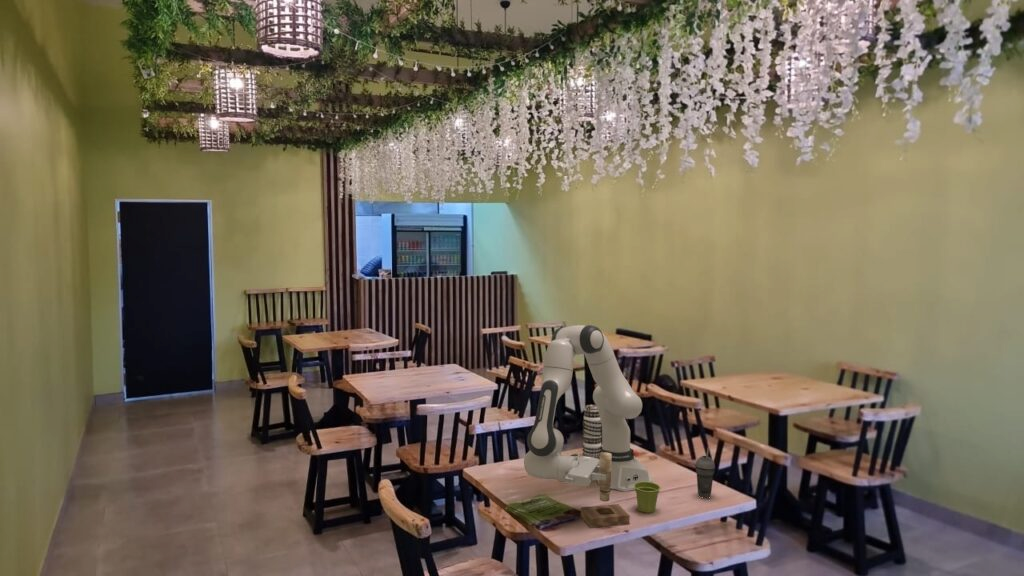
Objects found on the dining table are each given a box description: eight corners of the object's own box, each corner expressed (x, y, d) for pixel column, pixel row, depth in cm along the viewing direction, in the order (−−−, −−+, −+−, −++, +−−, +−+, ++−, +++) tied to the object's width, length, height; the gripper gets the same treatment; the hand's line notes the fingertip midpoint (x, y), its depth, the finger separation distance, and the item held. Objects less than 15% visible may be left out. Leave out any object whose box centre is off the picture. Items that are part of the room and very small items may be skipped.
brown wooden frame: (618, 512, 227) (618, 504, 227) (629, 524, 218) (629, 515, 217) (580, 515, 224) (580, 507, 224) (590, 527, 214) (590, 519, 214)
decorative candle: (605, 464, 278) (606, 407, 277) (585, 465, 277) (586, 408, 275) (598, 457, 287) (599, 402, 286) (579, 458, 286) (579, 403, 284)
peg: (607, 496, 223) (608, 452, 222) (612, 501, 219) (613, 455, 218) (597, 497, 222) (598, 452, 221) (601, 502, 218) (602, 456, 217)
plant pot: (664, 513, 227) (665, 489, 226) (641, 516, 224) (641, 492, 223) (651, 503, 236) (652, 480, 235) (628, 506, 233) (629, 482, 232)
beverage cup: (700, 491, 248) (701, 440, 247) (717, 496, 243) (719, 445, 241) (690, 496, 243) (692, 444, 241) (708, 501, 237) (709, 449, 236)
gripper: (561, 469, 214) (601, 475, 210) (576, 452, 234) (613, 456, 229) (560, 488, 215) (601, 493, 210) (575, 468, 234) (613, 473, 229)
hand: (607, 474), depth 220 cm, fingers closed on peg, 4 cm apart
